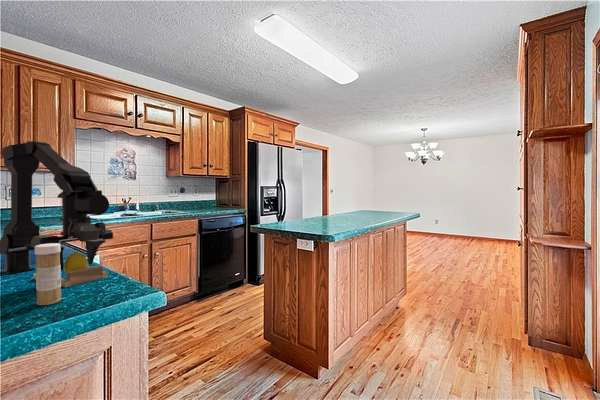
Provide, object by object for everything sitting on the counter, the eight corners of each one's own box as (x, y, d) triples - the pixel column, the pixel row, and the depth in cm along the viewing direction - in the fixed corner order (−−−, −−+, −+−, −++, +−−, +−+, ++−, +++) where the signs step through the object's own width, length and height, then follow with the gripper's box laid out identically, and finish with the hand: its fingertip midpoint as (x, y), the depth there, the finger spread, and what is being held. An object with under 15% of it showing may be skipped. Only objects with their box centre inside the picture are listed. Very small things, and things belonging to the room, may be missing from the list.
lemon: (68, 277, 89) (68, 250, 89) (90, 275, 91) (90, 249, 91) (61, 282, 84) (60, 254, 84) (84, 280, 86) (84, 253, 86)
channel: (33, 279, 88) (33, 267, 88) (75, 270, 98) (75, 259, 98) (65, 287, 80) (65, 274, 80) (107, 276, 90) (107, 265, 90)
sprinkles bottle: (46, 299, 72) (44, 242, 71) (66, 298, 72) (65, 242, 72) (30, 306, 67) (29, 246, 67) (52, 305, 67) (51, 246, 67)
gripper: (51, 217, 75) (52, 279, 76) (123, 212, 92) (124, 263, 92) (29, 215, 80) (31, 274, 81) (102, 211, 97) (103, 259, 97)
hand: (76, 267), depth 87 cm, fingers open, 7 cm apart
